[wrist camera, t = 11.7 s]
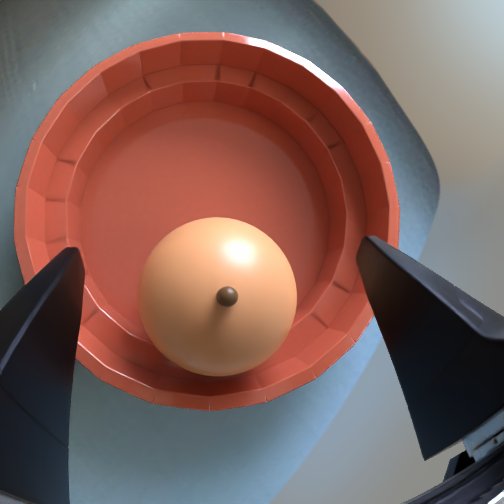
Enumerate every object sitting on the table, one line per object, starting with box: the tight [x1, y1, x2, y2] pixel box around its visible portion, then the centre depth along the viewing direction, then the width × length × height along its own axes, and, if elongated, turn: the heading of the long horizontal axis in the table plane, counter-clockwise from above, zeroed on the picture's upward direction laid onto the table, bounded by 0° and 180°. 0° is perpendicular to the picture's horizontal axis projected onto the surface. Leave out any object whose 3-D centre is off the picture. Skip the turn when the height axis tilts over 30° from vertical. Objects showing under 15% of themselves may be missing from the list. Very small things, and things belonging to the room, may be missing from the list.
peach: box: [138, 217, 297, 376], centre depth 13 cm, size 6×6×8 cm
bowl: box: [14, 32, 400, 411], centre depth 15 cm, size 18×18×5 cm
